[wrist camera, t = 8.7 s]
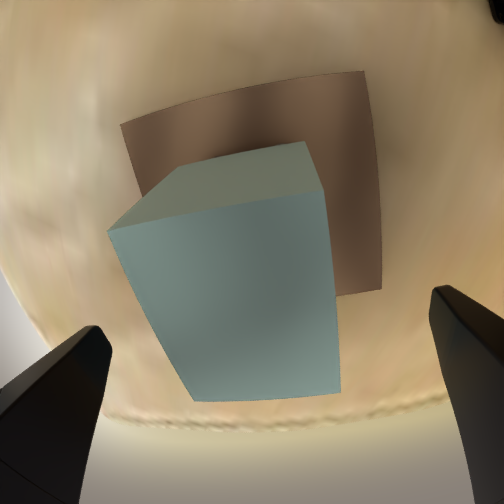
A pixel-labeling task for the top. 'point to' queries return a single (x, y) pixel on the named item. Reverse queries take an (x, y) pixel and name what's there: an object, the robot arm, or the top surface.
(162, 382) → the top surface
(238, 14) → the top surface
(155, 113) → the peg stand
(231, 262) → the teal block
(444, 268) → the top surface
